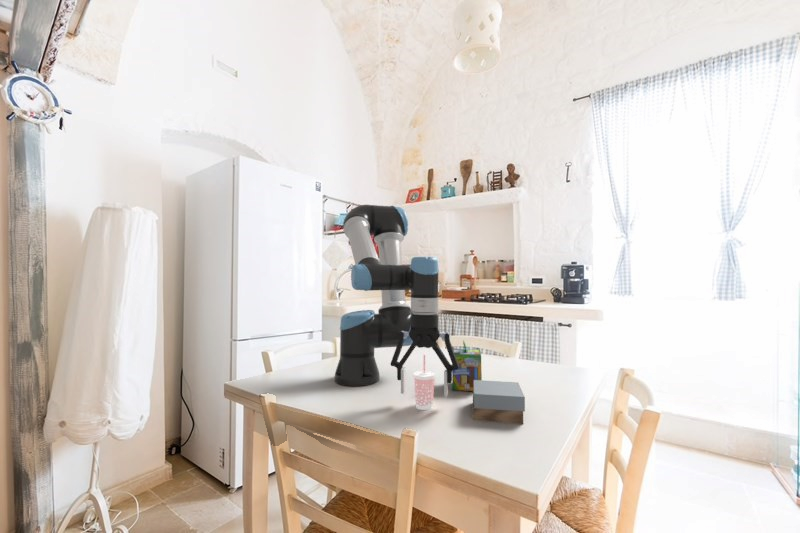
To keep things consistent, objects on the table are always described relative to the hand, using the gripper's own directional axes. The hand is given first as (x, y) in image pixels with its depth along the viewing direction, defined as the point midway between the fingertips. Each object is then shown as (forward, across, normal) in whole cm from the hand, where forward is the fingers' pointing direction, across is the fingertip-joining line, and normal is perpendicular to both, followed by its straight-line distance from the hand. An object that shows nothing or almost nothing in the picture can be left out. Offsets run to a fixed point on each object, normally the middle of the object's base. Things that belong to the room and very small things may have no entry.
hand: (424, 393), depth 98 cm
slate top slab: (+1, +19, 0) cm, 19 cm away
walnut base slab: (+4, +19, 0) cm, 19 cm away
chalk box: (+4, +11, +20) cm, 23 cm away
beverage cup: (+4, 0, 0) cm, 4 cm away
